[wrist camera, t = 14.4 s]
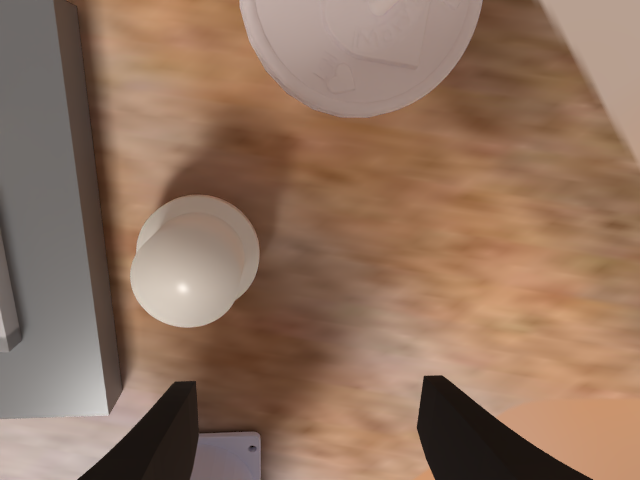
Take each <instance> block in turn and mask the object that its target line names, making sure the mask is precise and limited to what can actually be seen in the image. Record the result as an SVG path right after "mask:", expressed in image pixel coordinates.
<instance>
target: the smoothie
mask: <svg viewBox="0 0 640 480" xmlns="http://www.w3.org/2000/svg"><path fill="white" fill-rule="evenodd" d="M239 2H240V10H241V14H242V17H243V21H244V24H245V28H246V32H247V35H248V39H249V42H250V44H251V45H252V47H253V49H254V51H255V53H256V54H257V56H258V58H259V60H260V61H261V63H262V65H263V67H264V69H265V70H266V72H267V73H268V74H269V75H270V76H271V77H272V78H273V79H274V80H275V81H276V82H277V83H278V84H279V85H280V86H281V87H282V88H283V90H284V91H285V92H286V93H287V94H289V95H290V96H292V97H294V98H295V99H297V100H298V101H300V102H302V103H303V104H305V105H306V106H308V107H310V108H311V109H313V110H317V111H320V112H323V113H327V114H330V115H333V116H337V117H342V118H369V117H373V116H377V115H381V114H385V113H390V112H393V111H396V110H399V109H401V108H404V107H406V106H408V105H410V104H412V103H414V102H416V101H417V100H419V99H421V98H422V97H424V96H425V95H427V94H428V93H429V92H431V91H432V90H433V89H434V88H435V87H437V86H438V85H439V84H440V83H441V82H442V81H443V80H444V79H445V78H446V77H447V76H448V74H449V73H450V72H451V71H452V69H453V68H454V67H455V66H456V64H457V63H458V61H459V60H460V58H461V57H462V55H463V53H464V52H465V50H466V48H467V46H468V44H469V42H470V40H471V38H472V36H473V33H474V31H475V28H476V25H477V22H478V19H479V15H480V11H481V7H482V2H483V0H239Z"/></svg>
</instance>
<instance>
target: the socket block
mask: <svg viewBox="0 0 640 480" xmlns="http://www.w3.org/2000/svg"><path fill="white" fill-rule="evenodd" d="M121 393H122V383H121V375H120V366H119V358H118V349H117V341H116V333H115V324H114V316H113V307H112V299H111V291H110V282H109V274H108V266H107V257H106V249H105V240H104V232H103V224H102V215H101V207H100V199H99V190H98V182H97V173H96V165H95V157H94V148H93V140H92V131H91V123H90V115H89V106H88V98H87V90H86V81H85V73H84V64H83V56H82V48H81V39H80V31H79V23H78V14H77V6H75V5H73V4H71V3H69V2H68V1H66V0H0V419H15V418H46V417H77V416H107V415H109V414H110V412H111V411H112V409H113V407H114V405H115V404H116V402H117V400H118V398H119V397H120V395H121Z"/></svg>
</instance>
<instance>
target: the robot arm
mask: <svg viewBox="0 0 640 480" xmlns="http://www.w3.org/2000/svg"><path fill="white" fill-rule="evenodd" d="M417 430H418V434H419V437H420V440H421V444H422V447H423V450H424V453H425V457H426V460H427V462H428V464H429V467H430V469H431V471H432V473H433V476H434V478H435V480H593V479H591V478H589V477H587V476H585V475H583V474H582V473H580V472H578V471H576V470H574V469H572V468H570V467H569V466H567V465H565V464H563V463H562V462H560V461H558V460H556V459H555V458H553V457H552V456H550V455H549V454H547V453H545V452H544V451H542V450H541V449H539V448H537V447H536V446H534V445H533V444H531V443H530V442H528V441H527V440H525V439H524V438H522V437H521V436H520V435H518V434H517V433H515V432H514V431H513V430H511V429H510V428H508V427H507V426H506V425H504V424H503V423H501V422H500V421H499V420H498V419H496V418H495V417H494V416H492V415H491V414H490V413H489V412H487V411H486V410H485V409H483V408H482V407H481V406H480V405H478V404H477V403H476V402H475V401H474V400H472V399H471V398H470V397H469V396H467V395H466V394H465V393H464V392H463V391H461V390H460V389H459V388H458V387H456V386H455V385H454V384H453V383H451V382H450V381H449V380H448V379H446V378H445V377H444V376H442V375H439V376H424V379H423V386H422V394H421V401H420V408H419V416H418V423H417ZM250 446H255V447H250ZM77 480H261V437H260V435H259V433H257V432H227V433H201V434H199V428H198V411H197V394H196V381H181V382H174V383H173V384H172V385H171V386H170V388H169V389H168V390H167V391H166V392H165V393H164V394H163V396H162V397H161V398H160V399H159V400H158V401H157V403H156V404H155V405H154V406H153V407H152V408H151V409H150V410H149V412H148V413H147V414H146V415H145V416H144V417H143V418H142V419H141V420H140V421H139V422H138V423H137V424H136V425H135V427H134V428H133V429H132V430H131V431H130V432H129V433H128V434H127V435H126V436H125V437H124V438H123V439H122V440H121V441H120V442H119V443H118V444H117V445H115V446H114V447H113V448H112V449H111V450H110V451H109V452H108V453H107V454H106V455H105V456H104V457H103V458H102V459H101V460H100V461H98V462H97V463H96V464H95V465H94V466H93V467H92V468H91V469H89V470H88V471H87V472H86V473H85V474H83V475H82V476H81V477H80V478H79V479H77Z"/></svg>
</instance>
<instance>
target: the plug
mask: <svg viewBox="0 0 640 480" xmlns="http://www.w3.org/2000/svg"><path fill="white" fill-rule="evenodd" d="M259 256H260V248H259V241H258V237H257V234H256V231H255V229H254V227H253V225H252V223H251V222H250V221H249V219H248V218H247V217H246V216H245V214H244V213H243V212H242V211H240V210H239V209H238V208H237V207H235V206H234V205H232V204H231V203H229V202H227V201H225V200H223V199H220V198H217V197H214V196H209V195H201V194H196V195H186V196H182V197H179V198H175V199H173V200H171V201H169V202H167V203H166V204H164V205H163V206H161V207H160V208H159V209H158V210H156V211H155V212H154V213H153V214H152V215H151V216H150V217H149V218H148V219H147V221H146V222H145V224H144V225H143V227H142V229H141V231H140V234H139V237H138V240H137V248H136V255H135V257H134V259H133V262H132V266H131V272H130V281H131V286H132V290H133V293H134V295H135V297H136V299H137V300H138V302H139V303H140V305H141V306H142V307H143V308H144V310H145V311H147V312H148V313H149V314H150V315H151V316H153V317H154V318H156V319H158V320H159V321H161V322H164V323H166V324H169V325H172V326H177V327H188V328H189V327H198V326H203V325H206V324H209V323H211V322H213V321H215V320H217V319H219V318H220V317H221V316H223V315H224V314H225V313H226V312H227V311H228V310H229V309H230V308H231V306H232V305H233V303H234V301H235V300H237V299H238V298H239V297H240V296H242V295H243V294H244V293H245V291H246V290H247V289H248V288H249V287H250V285H251V284H252V282H253V280H254V278H255V276H256V273H257V270H258V265H259Z"/></svg>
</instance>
